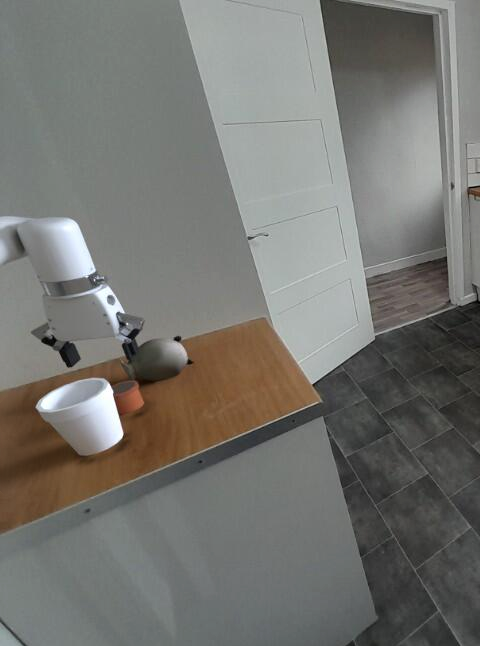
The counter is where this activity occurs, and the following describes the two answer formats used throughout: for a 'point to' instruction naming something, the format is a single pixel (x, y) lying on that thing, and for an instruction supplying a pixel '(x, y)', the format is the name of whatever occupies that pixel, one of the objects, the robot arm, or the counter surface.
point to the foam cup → (83, 415)
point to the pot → (127, 396)
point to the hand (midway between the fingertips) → (104, 360)
